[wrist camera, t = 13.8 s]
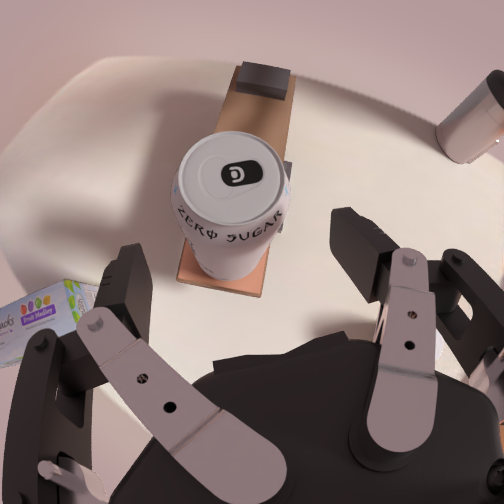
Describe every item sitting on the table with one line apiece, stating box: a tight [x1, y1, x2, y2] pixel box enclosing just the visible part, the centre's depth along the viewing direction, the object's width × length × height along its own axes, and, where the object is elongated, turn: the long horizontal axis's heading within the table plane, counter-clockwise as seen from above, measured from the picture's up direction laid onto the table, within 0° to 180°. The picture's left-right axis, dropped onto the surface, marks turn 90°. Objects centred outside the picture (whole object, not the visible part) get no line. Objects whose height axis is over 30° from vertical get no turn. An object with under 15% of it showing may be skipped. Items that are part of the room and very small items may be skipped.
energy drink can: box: [171, 131, 291, 281], centre depth 20 cm, size 6×6×15 cm
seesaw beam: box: [176, 61, 296, 298], centre depth 30 cm, size 9×28×4 cm, turn 170°
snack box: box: [0, 279, 99, 368], centre depth 26 cm, size 21×6×15 cm, turn 112°
